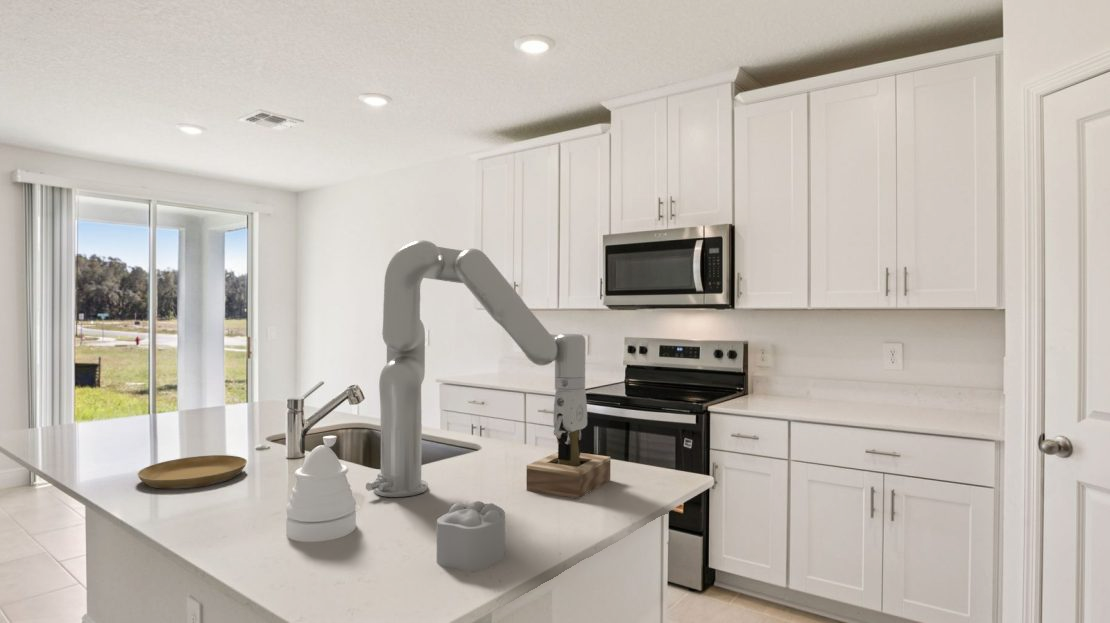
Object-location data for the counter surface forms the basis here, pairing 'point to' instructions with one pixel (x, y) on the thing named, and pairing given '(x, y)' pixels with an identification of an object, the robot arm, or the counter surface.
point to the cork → (572, 450)
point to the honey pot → (321, 498)
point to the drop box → (568, 475)
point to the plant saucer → (192, 471)
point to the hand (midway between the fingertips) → (569, 456)
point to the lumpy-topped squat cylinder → (471, 536)
